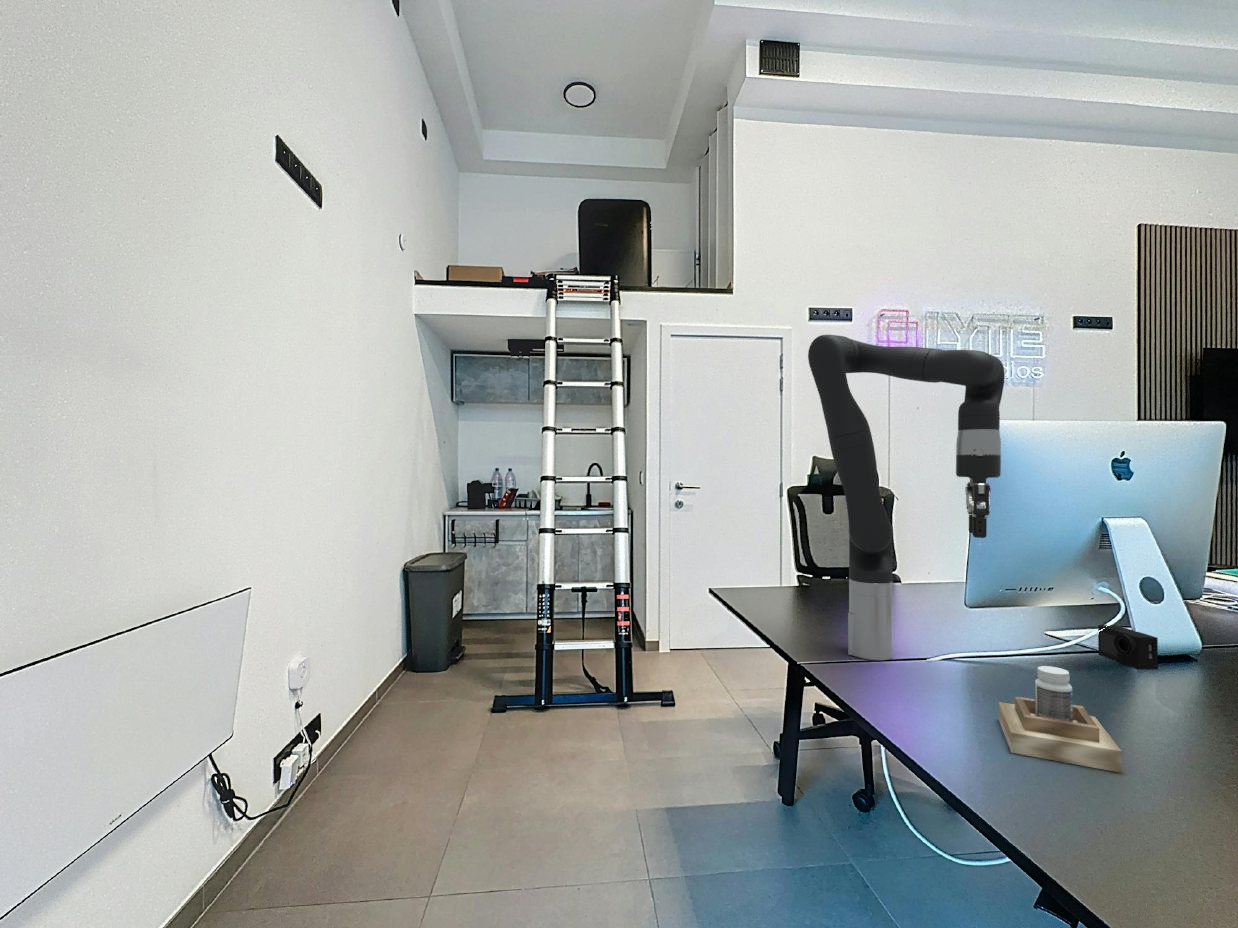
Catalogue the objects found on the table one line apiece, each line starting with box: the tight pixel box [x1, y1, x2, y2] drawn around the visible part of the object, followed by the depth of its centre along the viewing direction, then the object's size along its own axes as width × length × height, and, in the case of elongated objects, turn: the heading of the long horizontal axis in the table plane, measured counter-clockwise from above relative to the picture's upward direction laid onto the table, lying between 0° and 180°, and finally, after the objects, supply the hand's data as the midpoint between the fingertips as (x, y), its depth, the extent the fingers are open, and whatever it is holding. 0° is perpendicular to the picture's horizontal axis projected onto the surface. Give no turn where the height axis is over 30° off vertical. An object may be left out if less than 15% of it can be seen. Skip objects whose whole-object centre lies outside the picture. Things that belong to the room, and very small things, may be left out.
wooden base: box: [998, 696, 1123, 774], centre depth 90 cm, size 13×13×5 cm
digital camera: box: [1097, 624, 1159, 670], centre depth 130 cm, size 10×5×7 cm, turn 2°
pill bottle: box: [1034, 665, 1074, 722], centre depth 90 cm, size 5×5×8 cm
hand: (977, 535), depth 114 cm, fingers open, 8 cm apart
